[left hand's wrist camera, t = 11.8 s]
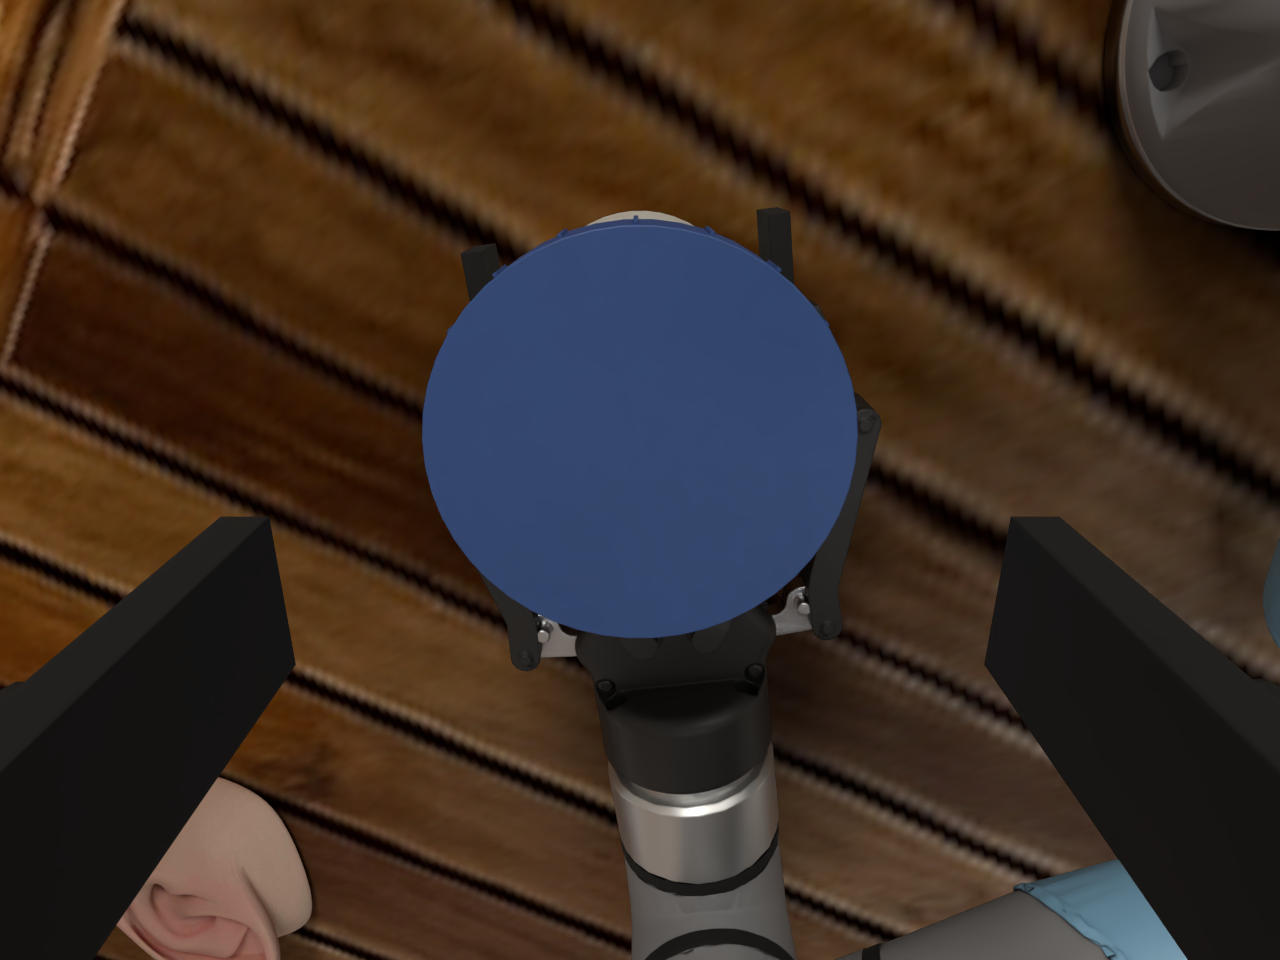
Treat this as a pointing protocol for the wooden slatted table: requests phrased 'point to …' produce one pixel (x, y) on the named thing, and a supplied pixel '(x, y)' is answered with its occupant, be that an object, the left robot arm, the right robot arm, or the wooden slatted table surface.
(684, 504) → the lid
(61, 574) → the wooden slatted table surface
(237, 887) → the anatomical model
